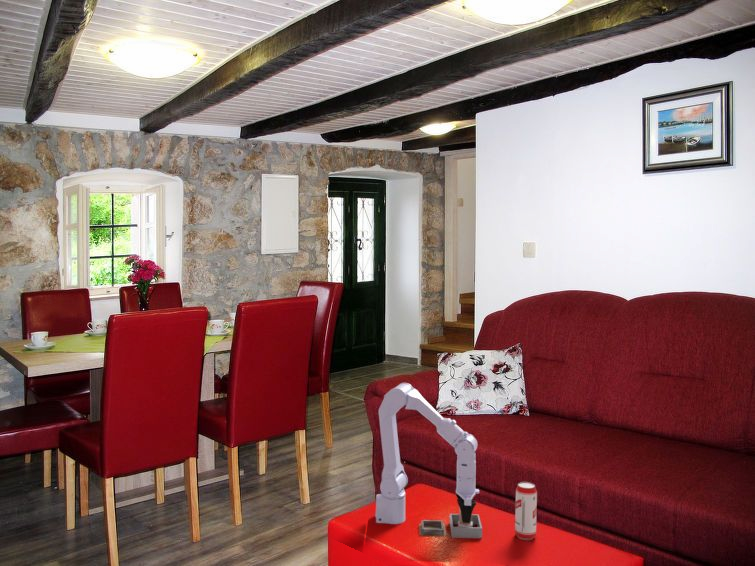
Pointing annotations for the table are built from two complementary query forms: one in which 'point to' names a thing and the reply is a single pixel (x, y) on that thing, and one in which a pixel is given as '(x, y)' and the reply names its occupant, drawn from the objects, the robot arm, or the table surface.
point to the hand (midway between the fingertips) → (465, 519)
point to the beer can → (525, 511)
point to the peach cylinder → (460, 523)
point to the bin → (465, 531)
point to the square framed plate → (432, 528)
